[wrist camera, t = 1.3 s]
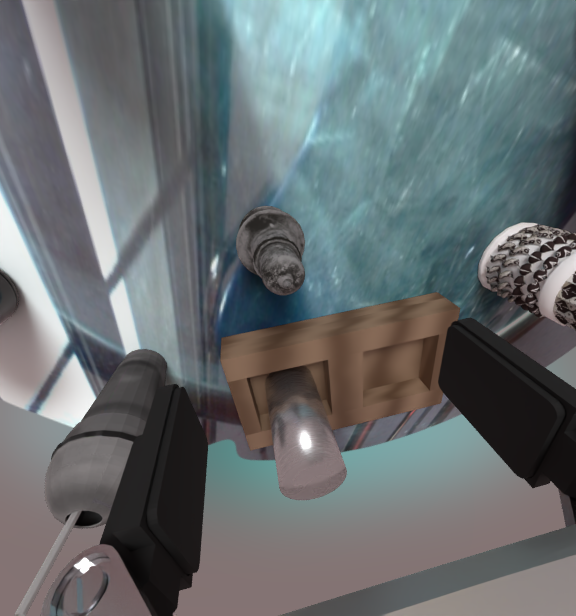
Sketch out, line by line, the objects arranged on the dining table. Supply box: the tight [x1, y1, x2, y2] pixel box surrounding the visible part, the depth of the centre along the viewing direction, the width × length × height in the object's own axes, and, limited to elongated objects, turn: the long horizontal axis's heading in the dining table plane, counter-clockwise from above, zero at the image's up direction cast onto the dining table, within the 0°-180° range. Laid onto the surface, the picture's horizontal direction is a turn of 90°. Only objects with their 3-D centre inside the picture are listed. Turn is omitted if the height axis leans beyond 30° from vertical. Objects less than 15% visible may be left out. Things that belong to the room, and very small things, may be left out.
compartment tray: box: [220, 292, 460, 450], centre depth 35 cm, size 26×15×4 cm, turn 98°
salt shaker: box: [236, 206, 305, 295], centre depth 22 cm, size 6×6×12 cm
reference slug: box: [265, 365, 347, 500], centre depth 30 cm, size 6×6×12 cm
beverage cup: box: [14, 349, 167, 616], centre depth 23 cm, size 7×7×20 cm
